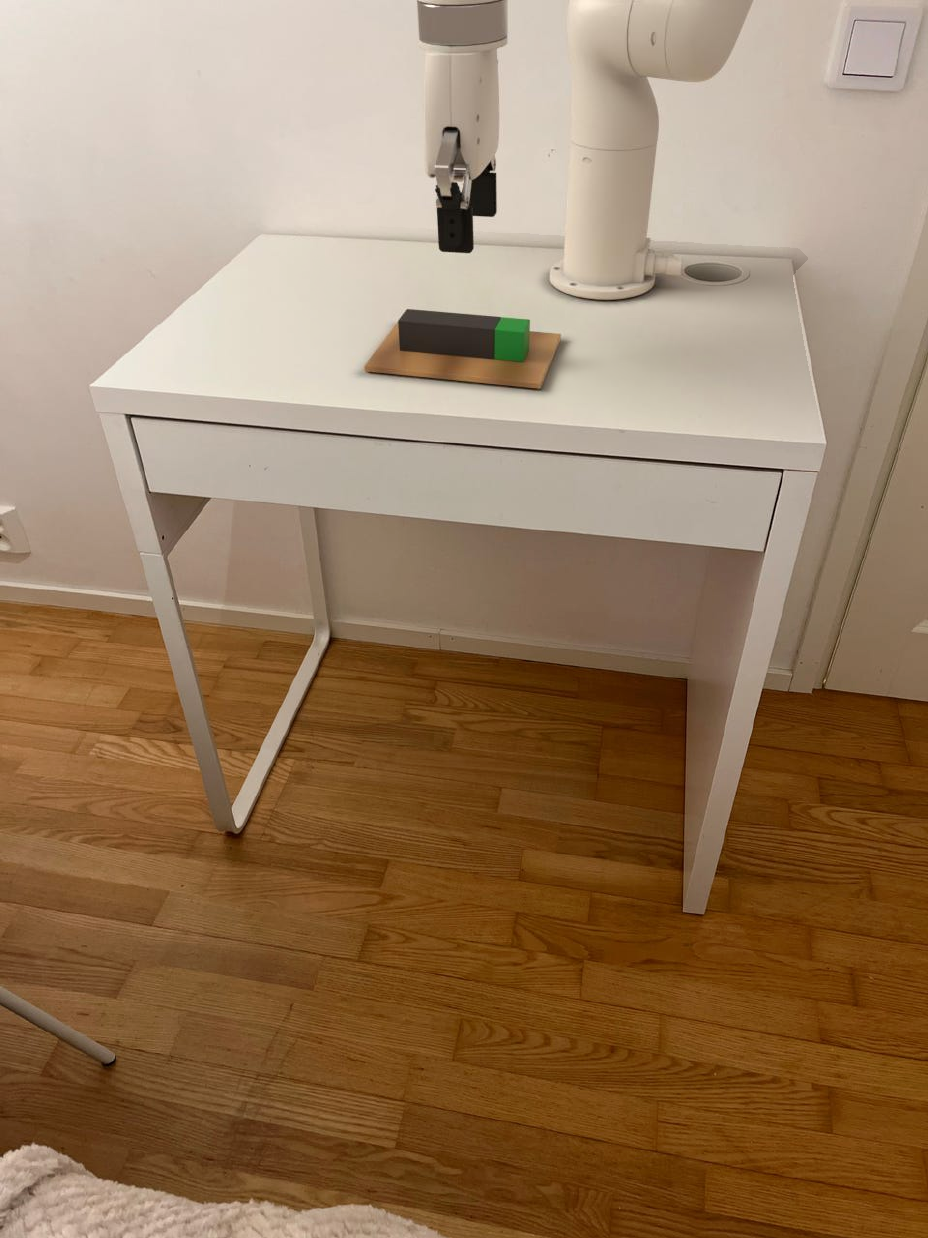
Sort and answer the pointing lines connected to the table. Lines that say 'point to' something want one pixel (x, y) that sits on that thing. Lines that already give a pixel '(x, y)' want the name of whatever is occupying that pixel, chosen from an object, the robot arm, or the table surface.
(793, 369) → the table surface
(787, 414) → the table surface
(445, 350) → the marker
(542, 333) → the wooden board
